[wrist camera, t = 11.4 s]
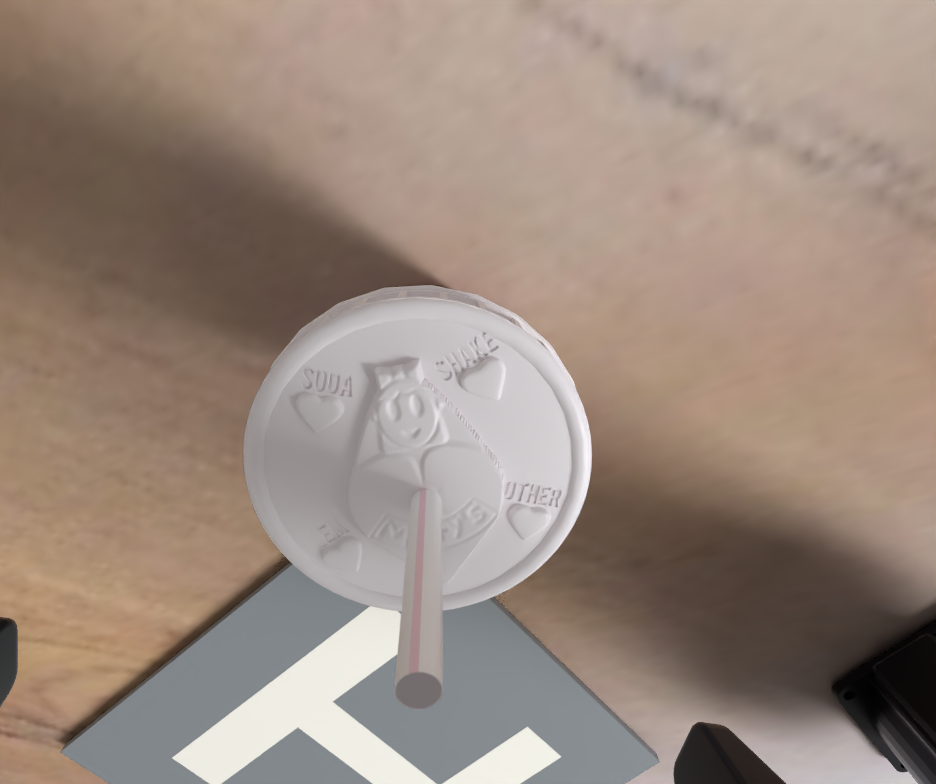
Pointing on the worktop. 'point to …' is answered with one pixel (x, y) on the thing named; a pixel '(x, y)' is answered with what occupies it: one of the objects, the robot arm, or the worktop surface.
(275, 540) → the smoothie
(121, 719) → the board
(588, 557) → the worktop surface
